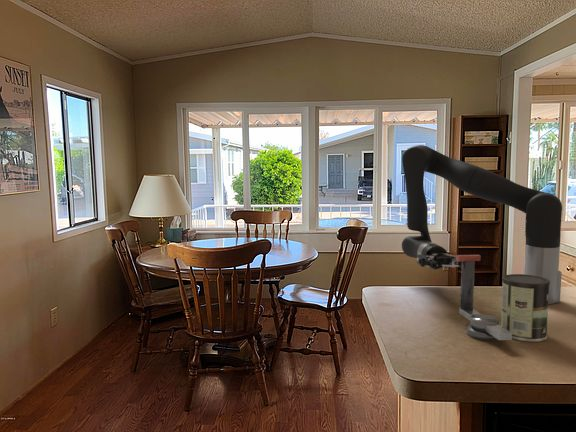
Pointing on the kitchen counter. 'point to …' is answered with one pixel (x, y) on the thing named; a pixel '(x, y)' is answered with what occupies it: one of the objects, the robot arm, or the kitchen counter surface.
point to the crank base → (480, 334)
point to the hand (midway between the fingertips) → (450, 266)
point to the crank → (466, 302)
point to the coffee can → (525, 306)
